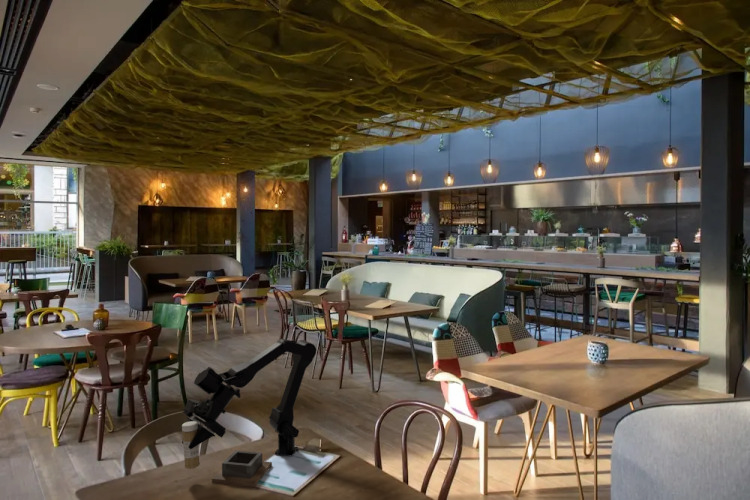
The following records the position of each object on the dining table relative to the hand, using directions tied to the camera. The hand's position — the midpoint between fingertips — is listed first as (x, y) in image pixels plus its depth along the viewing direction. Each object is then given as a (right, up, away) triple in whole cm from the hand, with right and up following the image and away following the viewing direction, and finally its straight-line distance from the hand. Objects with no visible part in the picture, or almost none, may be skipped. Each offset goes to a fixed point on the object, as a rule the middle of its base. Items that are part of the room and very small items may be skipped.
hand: (186, 446), depth 160 cm
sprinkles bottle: (+2, -7, +1) cm, 7 cm away
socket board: (+16, -11, +6) cm, 20 cm away
